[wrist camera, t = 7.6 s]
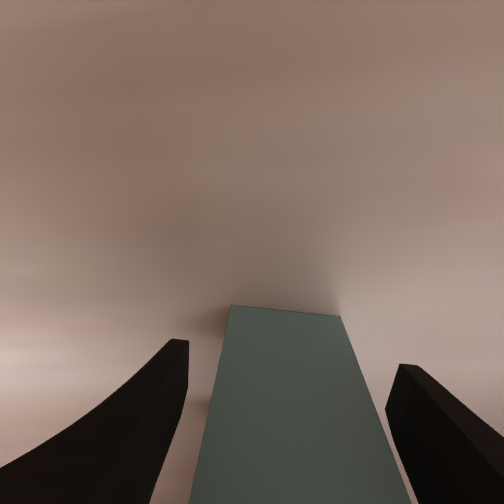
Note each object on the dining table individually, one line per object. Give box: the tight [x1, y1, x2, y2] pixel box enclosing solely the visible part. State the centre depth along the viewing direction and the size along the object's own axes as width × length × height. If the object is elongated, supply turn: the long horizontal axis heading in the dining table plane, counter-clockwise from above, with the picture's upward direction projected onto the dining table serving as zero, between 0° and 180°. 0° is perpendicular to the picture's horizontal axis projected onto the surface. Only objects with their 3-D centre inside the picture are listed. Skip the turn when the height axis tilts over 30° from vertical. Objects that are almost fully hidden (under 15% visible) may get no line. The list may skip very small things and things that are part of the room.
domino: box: [189, 305, 412, 504], centre depth 10 cm, size 5×2×10 cm, turn 85°
